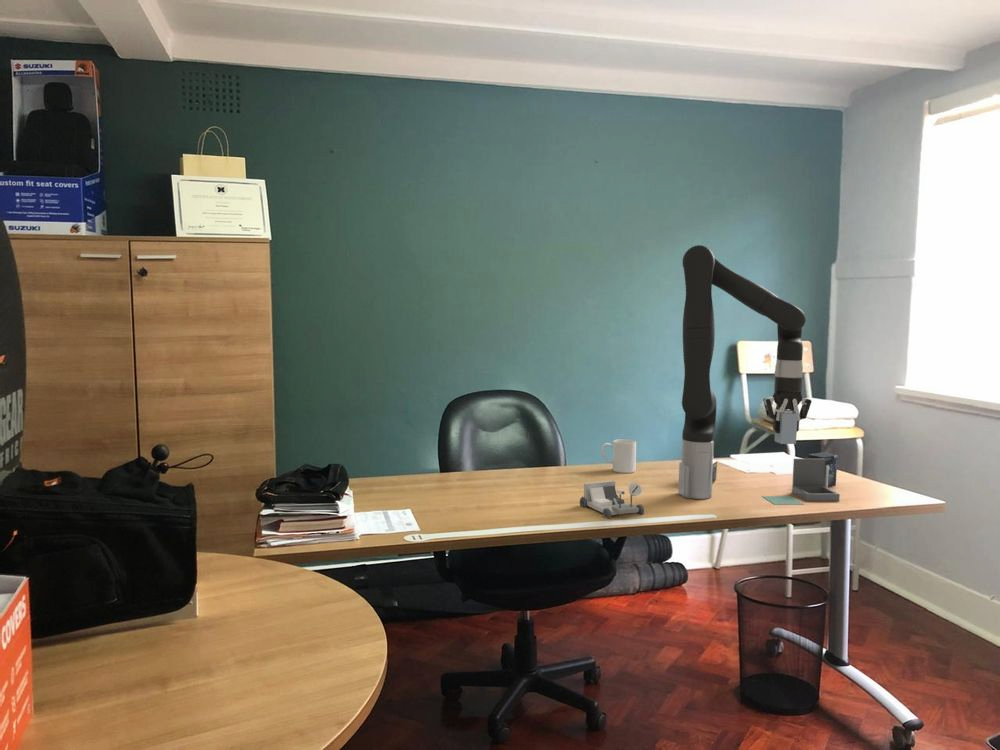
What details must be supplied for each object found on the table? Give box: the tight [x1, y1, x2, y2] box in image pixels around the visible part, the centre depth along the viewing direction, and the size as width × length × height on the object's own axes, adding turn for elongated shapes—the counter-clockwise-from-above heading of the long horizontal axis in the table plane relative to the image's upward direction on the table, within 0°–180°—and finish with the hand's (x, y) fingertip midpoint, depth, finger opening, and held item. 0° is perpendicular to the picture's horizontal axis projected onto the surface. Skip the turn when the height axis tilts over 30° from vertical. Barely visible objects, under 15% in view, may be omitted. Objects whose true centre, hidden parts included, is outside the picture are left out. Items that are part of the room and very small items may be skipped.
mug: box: [601, 438, 637, 474], centre depth 258 cm, size 12×8×10 cm, turn 97°
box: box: [808, 451, 838, 488], centre depth 239 cm, size 8×6×11 cm
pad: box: [761, 495, 805, 506], centre depth 220 cm, size 9×9×1 cm
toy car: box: [579, 480, 645, 520], centre depth 207 cm, size 18×10×12 cm
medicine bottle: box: [712, 447, 718, 485], centre depth 244 cm, size 7×7×12 cm
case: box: [791, 458, 841, 502], centre depth 224 cm, size 11×11×11 cm
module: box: [774, 409, 798, 445], centre depth 218 cm, size 4×4×10 cm
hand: (785, 432), depth 218 cm, fingers closed on module, 4 cm apart
